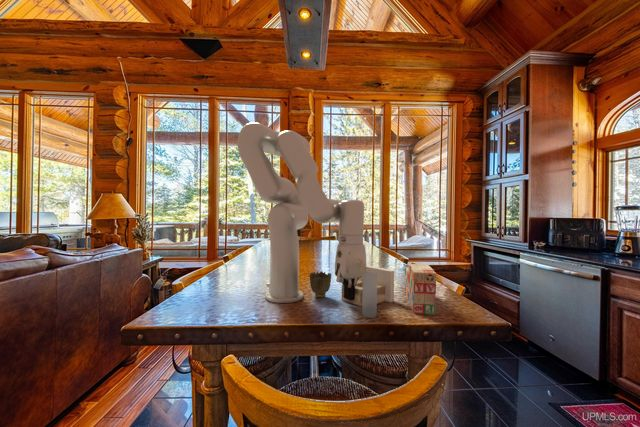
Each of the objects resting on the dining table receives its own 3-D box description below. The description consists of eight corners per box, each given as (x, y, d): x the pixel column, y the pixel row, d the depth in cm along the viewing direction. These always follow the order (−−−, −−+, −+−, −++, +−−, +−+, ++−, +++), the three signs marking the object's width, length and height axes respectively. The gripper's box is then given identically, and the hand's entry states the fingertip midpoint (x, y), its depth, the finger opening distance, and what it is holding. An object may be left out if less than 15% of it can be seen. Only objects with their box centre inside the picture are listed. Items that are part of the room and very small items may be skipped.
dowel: (359, 315, 81) (360, 272, 81) (367, 311, 84) (368, 270, 84) (371, 319, 78) (371, 275, 78) (379, 315, 81) (380, 273, 81)
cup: (335, 297, 97) (336, 273, 97) (320, 302, 92) (321, 277, 92) (319, 292, 102) (319, 270, 102) (304, 297, 97) (304, 273, 97)
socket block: (341, 299, 94) (341, 284, 94) (360, 293, 101) (360, 279, 101) (366, 307, 87) (366, 291, 87) (385, 300, 94) (385, 285, 94)
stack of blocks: (404, 292, 104) (405, 258, 104) (422, 293, 103) (423, 259, 103) (413, 313, 83) (413, 271, 83) (435, 315, 82) (436, 272, 82)
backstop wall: (343, 289, 107) (343, 262, 107) (347, 288, 108) (347, 261, 108) (390, 302, 92) (390, 271, 92) (393, 301, 94) (394, 270, 94)
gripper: (342, 243, 81) (340, 307, 81) (375, 239, 91) (373, 297, 91) (324, 240, 86) (323, 300, 87) (357, 237, 96) (356, 291, 97)
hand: (349, 298), depth 89 cm, fingers closed
